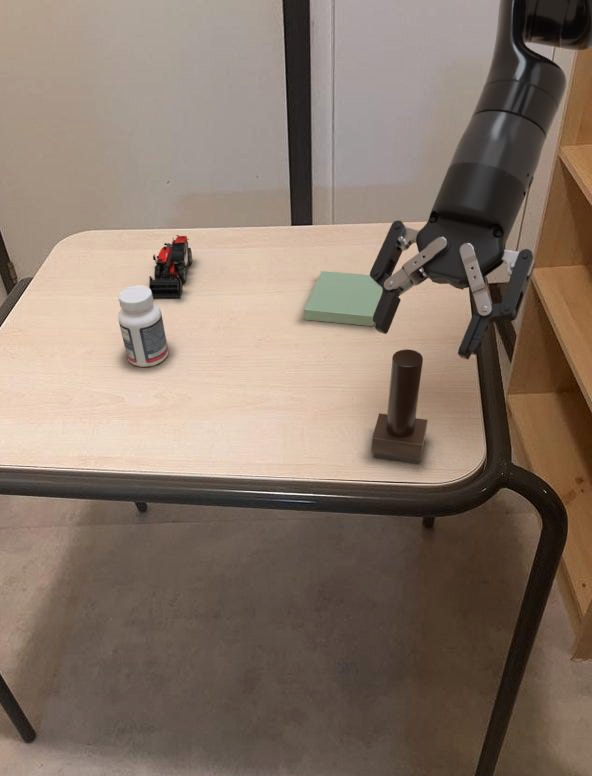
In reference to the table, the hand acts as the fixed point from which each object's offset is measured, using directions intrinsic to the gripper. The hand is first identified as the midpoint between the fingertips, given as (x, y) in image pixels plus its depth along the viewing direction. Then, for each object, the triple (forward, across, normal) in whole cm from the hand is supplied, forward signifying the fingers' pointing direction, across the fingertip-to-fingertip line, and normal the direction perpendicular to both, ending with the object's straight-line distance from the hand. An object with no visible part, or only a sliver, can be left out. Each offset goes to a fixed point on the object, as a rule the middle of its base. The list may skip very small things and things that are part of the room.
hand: (420, 343), depth 69 cm
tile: (-6, -19, +22) cm, 29 cm away
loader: (-1, -44, +18) cm, 48 cm away
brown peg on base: (+10, 0, +6) cm, 12 cm away
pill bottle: (+10, -35, +6) cm, 37 cm away
